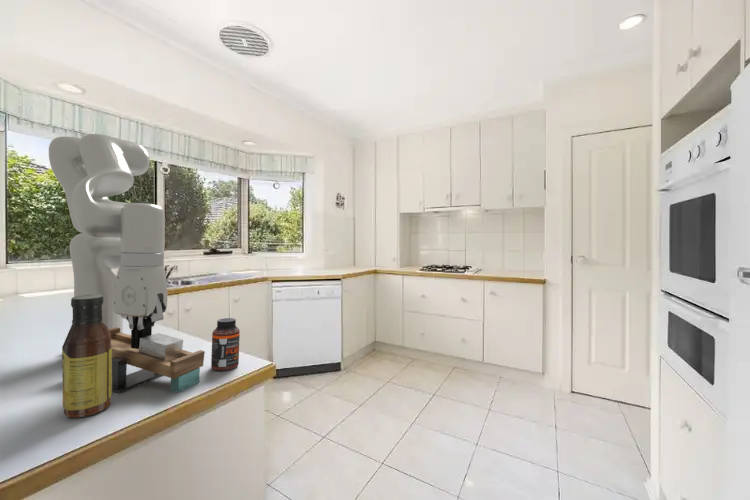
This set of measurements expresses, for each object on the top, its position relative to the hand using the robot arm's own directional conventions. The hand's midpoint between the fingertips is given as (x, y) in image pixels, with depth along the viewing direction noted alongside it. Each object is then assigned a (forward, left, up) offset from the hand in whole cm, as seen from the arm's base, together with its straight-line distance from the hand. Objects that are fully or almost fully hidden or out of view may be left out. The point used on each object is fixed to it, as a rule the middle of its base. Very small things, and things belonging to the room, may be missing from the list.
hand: (141, 346), depth 67 cm
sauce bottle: (+5, -13, -7) cm, 15 cm away
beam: (0, 0, -5) cm, 5 cm away
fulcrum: (0, 0, -7) cm, 7 cm away
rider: (+5, 0, -2) cm, 6 cm away
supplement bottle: (+12, +11, -7) cm, 18 cm away
